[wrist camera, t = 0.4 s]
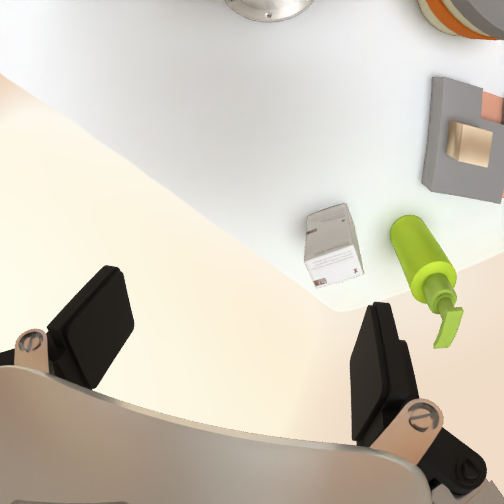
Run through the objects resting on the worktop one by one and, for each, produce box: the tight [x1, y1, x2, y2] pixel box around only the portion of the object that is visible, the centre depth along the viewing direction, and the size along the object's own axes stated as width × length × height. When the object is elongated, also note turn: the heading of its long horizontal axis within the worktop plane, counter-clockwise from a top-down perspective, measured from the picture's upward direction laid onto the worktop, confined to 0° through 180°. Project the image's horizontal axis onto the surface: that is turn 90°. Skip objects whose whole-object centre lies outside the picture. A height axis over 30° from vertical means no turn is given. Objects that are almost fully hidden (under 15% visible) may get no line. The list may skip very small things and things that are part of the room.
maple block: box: [446, 120, 493, 168], centre depth 30 cm, size 4×4×4 cm
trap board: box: [422, 77, 504, 204], centre depth 32 cm, size 15×24×4 cm, turn 90°
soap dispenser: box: [390, 215, 463, 349], centre depth 35 cm, size 6×7×20 cm
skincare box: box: [304, 204, 364, 288], centre depth 39 cm, size 6×4×12 cm
